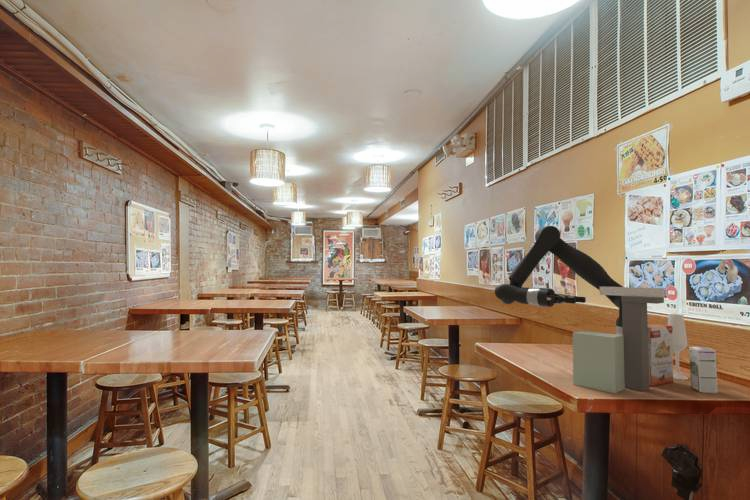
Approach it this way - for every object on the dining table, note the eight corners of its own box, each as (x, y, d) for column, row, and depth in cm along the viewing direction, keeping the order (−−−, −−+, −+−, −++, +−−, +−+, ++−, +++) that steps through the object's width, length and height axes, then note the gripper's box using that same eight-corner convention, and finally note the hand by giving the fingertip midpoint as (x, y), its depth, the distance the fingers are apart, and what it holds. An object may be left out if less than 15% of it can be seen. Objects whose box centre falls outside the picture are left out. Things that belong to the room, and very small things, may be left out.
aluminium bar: (599, 294, 156) (599, 286, 157) (603, 294, 158) (602, 286, 159) (662, 297, 141) (662, 288, 141) (665, 297, 143) (665, 288, 143)
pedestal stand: (623, 387, 148) (621, 296, 149) (630, 384, 152) (628, 295, 154) (659, 395, 139) (657, 297, 141) (666, 391, 144) (663, 296, 145)
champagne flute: (662, 375, 166) (661, 313, 167) (678, 374, 166) (676, 313, 167) (676, 379, 159) (674, 315, 160) (693, 379, 160) (691, 315, 161)
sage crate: (573, 384, 151) (572, 332, 152) (583, 380, 156) (582, 330, 157) (615, 393, 141) (614, 337, 142) (624, 389, 146) (623, 335, 147)
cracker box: (652, 387, 149) (651, 327, 150) (635, 383, 154) (634, 325, 155) (675, 382, 155) (673, 325, 156) (657, 378, 161) (656, 323, 162)
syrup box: (718, 393, 141) (717, 349, 142) (698, 392, 142) (697, 349, 143) (708, 388, 147) (707, 346, 148) (689, 387, 148) (688, 346, 149)
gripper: (532, 288, 171) (572, 290, 159) (549, 287, 180) (588, 290, 168) (531, 306, 171) (572, 310, 158) (548, 305, 180) (588, 309, 168)
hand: (580, 300), depth 163 cm, fingers open, 8 cm apart
